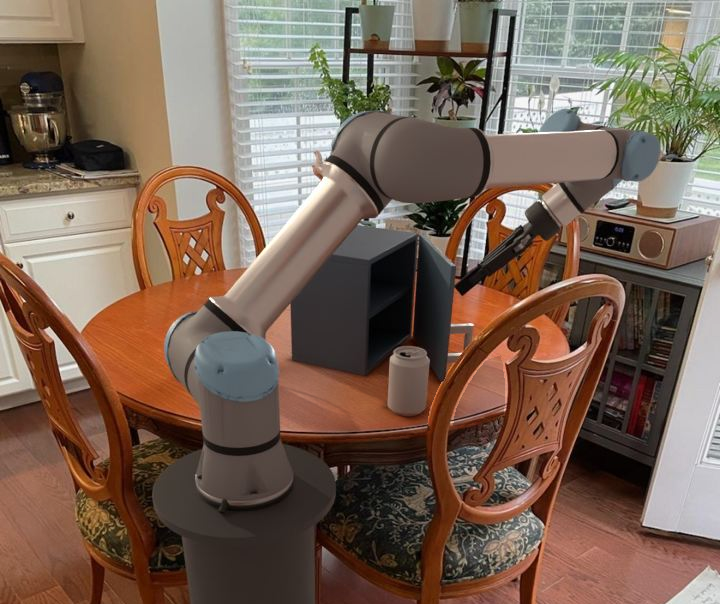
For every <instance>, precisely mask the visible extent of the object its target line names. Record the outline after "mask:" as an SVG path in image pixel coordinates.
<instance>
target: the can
mask: <svg viewBox="0 0 720 604" xmlns="http://www.w3.org/2000/svg"><path fill="white" fill-rule="evenodd" d="M426 355H427V352H426V351H425V350H424V349H422V348H419V347H418V346H413V345H402V346H400V347H398V348H396V349H395V350H394V352H393V353H392V354H391V355H390V356H389V366H388V367H389V368H388V389H387V407H388V408H389V409H390V410H391V412H393V413H394V414H396V415H398V416H403V417H414V416H418V415H419V414H421V413H423V411H425V410H426V408H427V401H428V399H427V397H428V389H429V388H428V385H429V374H430V364H429V363H430V359H429V358H428V357H427V356H426Z"/></svg>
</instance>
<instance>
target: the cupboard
mask: <svg viewBox="0 0 720 604" xmlns="http://www.w3.org/2000/svg"><path fill="white" fill-rule="evenodd" d="M418 247H419V233H418V232H412V231H404V230H397V229H391V228H390V229H388V228H382V227H373V226H368V225H367V226H365V225H360V224H358V225H357V226H356V227H355V228H354V230H353V231H352V232H351V233H350V234H349V235H348V237H347V238H346V239H345V240H344V241H343V242H342V244H341V245H340V246H339V247H338V248H337V249H336V251H335V252H334V253H333V254H332V255H331V256H330V258H329V259H328V260H327V261H326V262H325V263H324V265H323V266H322V267H321V268H320V269H319V270H318V272H317V273H316V274H315V275H314V276H313V278H312V279H311V280H310V281H309V282H308V283H307V285H306V286H305V287H304V288H303V289H302V290H301V292H300V293H299V294H298V295H297V296H296V297H295V299H294V300H293V301H292V302H291V303H290V304H289V306H290V339H291V341H290V342H291V360H292V361H295V362H299V363H304V364H309V365H314V366H317V367H323V368H327V369H331V370H336V371H341V372H345V373H350V374H356V375H361V376H365V377H366V376H367V375H368V374H370V372H371V371H373V370H374V369H376V367H378V366H379V365H380V364H381V363H382V362H383V361H385V360H386V359H388V358H389V357H390V356H392V355H393V354H394V353H393V352H394V350H395V349H396V348H398V347H402V346H404V344H405V343H407V342H408V341H409V340H410V339H412V338H413V323H414V308H415V292H416V277H417V262H418Z"/></svg>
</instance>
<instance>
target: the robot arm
mask: <svg viewBox="0 0 720 604" xmlns="http://www.w3.org/2000/svg"><path fill="white" fill-rule="evenodd" d="M330 146H331V150H330V153H329V156H327V160H326V161H324V162H323V165H322V175H323V178H322V181H321V180H320V181H319V183H318V185H317V186H316V187H315V188H314V189H313V191H311V193H310V194H309V196H307V198H306V199H305V200H304V201H303V202H302V203H301V205H300V206H299V207H298V208H297V209H296V211H295V212H294V213H292V215H291V216H290V218H289V219H288V220H287V221H286V223H285V224H284V225H283V226H282V227H281V228H280V230H279V231H278V232H277V233H276V234H275V236H273V237H272V239H271V240H270V241H269V243H268V244H267V245H266V246H265V247H264V249H263V250H262V251H260V253H259V254H258V256H256V258H255V259H254V260H253V261H252V262H251V264H250V265H249V266H248V267H247V269H246V270H245V271H244V272H243V273H242V274H241V276H240V277H239V278H238V279H237V280H236V281H235V283H234V284H233V285H232V286H231V287H230V288H229V290H228V291H227V292H226V293H225V294H224V295H220V296H210V297H209V298H208V299H207V300H206V301H205V302H204V304H203V305H202V306H201V307H200V308H199V309H198V310H197V311H192V312H187V313H184V314H182V315H181V316H179V317H178V318H177V319H176V320H174V321H173V322H172V324H171V325H170V327H169V329H168V330H167V332H166V335H165V338H164V343H163V352H164V359H165V362H166V363H167V365H168V368H169V371H170V372H171V374H172V375H173V377H174V379H175V380H176V381H177V382H178V383H180V384H181V385H182V386H183V388H184V389H185V390H186V391H187V393H188V394H189V395H190V396H191V397H192V398H193V400H194V401H195V402H196V403H197V404H198V407H199V411H200V419H201V421H200V422H201V431H202V439H203V440H202V441H203V446H202V449H203V450H202V454H201V457H200V461H199V465H198V469H197V473H196V477H195V480H196V489H197V493H198V495H199V497H200V498H201V499H202V500H203V501H204V502H206V503H207V504H209V505H211V506H214V507H216V508H219V511H218V512H219V513H221V514H225V511H226V510H230V511H251V510H257V509H262V508H266V507H269V506H272V505H274V504H276V503H278V502H280V501H282V500H283V499H284V498H286V497H287V496H288V495H289V494H290V492H291V491H292V489H293V485H294V476H293V469H292V467H291V465H290V463H289V461H288V458H287V455H286V452H285V450H284V447H283V445H282V444H283V441H282V440H281V413H280V368H279V363H278V358H277V353H276V350H275V348H274V347H273V346H272V344H271V343H270V342H268V341H267V336H266V335H267V332H268V331H269V329H270V328H271V327H272V326H273V324H274V323H275V322H276V321H277V320H278V319H279V318H280V316H281V315H282V314H283V313H284V311H285V310H286V309H287V308H288V307H289V306H290V303H291V302H292V301H293V300H294V299H295V297H296V296H297V295H298V294H299V293H300V292H301V290H302V289H303V288H304V287H305V286H306V285H307V283H308V282H309V281H310V280H311V279H312V278H313V276H314V275H315V274H316V273H317V272H318V270H319V269H320V268H321V267H322V266H323V265H324V263H325V262H326V261H327V260H328V259H329V258H330V256H331V255H332V254H333V253H334V252H335V251H336V249H337V248H338V247H339V246H340V245H341V244H342V242H343V241H344V240H345V239H346V238H347V237H348V235H349V234H350V233H351V232H352V231H353V230H354V228H355V227H356V226H357V225H360V222H362V220H367V219H370V220H371V219H376V218H378V217H379V215H380V214H381V213H382V212H383V210H385V208H386V207H387V206H388V205H389V203H391V201H392V200H393V201H396V202H400V203H404V204H427V203H429V204H430V203H437V202H443V201H444V202H445V201H452V200H460V199H472V198H475V197H478V196H480V195H481V194H482V193H483V192H484V191H485V190H492V189H493V190H494V189H503V188H515V187H527V186H528V187H529V186H538V185H551V184H554V185H553V186H552V187H550V189H548V190H547V191H546V192H545V193H544V194H542V196H541V199H537V200H536V201H534V202H533V203H532V204H531V205H530V206H529V207H528V208H526V209H525V210H524V215H525V217H526V220H527V221H528V222H526V223H525V224H523V225H522V224H519V225H518V226H516V227H515V228H514V229H513V231H512V232H511V233H510V234H509V235H507V236H506V237H505V238H504V239H503V240H502V241H501V242H499V244H498V245H496V247H494V248H493V249H492V250H490V252H489V253H488V254H486V256H483V257H482V260H481V261H479V262H477V263H476V266H475V267H474V268H473V269H472V270H470V271H469V272H468V273H467V274H466V275H464V276H463V277H462V278H461V279H459V280H458V281H457V282H455V285H454V290H456V292H458V294H460V295H459V296H461V297H463V296H464V295H467V293H468V292H470V291H471V290H472V289H473V288H475V287H476V286H477V285H478V284H479V283H481V281H483V280H484V279H485V278H487V277H488V278H490V277H492V276H493V275H494V274H496V273H497V272H498V271H500V270H501V269H502V268H503V267H504V266H506V265H508V264H509V263H510V262H511V261H513V260H514V259H516V258H517V257H518V256H520V255H522V254H524V253H525V252H526V251H527V249H529V248H530V247H531V246H532V245H533V244H534V242H533V241H534V240H535V239H537V237H538V236H539V237H540V238H541V239H542V240H543V241H545V242H548V241H550V240H551V239H553V238H554V237H555V236H556V235H558V234H559V233H560V232H561V230H562V227H567V226H568V225H569V224H571V222H572V221H573V222H578V221H579V216H580V215H581V214H583V213H585V212H586V211H587V210H588V209H589V208H591V207H592V206H593V205H594V204H596V203H597V202H599V200H601V199H602V198H603V197H605V196H606V195H607V194H609V193H610V192H611V191H613V190H614V189H615V188H616V187H617V186H618V185H619V184H620V183H621V182H623V181H624V182H636V183H637V182H638V183H639V182H643V181H645V180H646V179H647V178H649V177H650V176H651V175H652V174H653V173H654V171H655V169H656V168H657V166H658V164H659V158H660V155H661V144H660V140H659V139H658V137H657V136H656V135H655V134H654V133H651V132H647V131H642V129H627V128H622V127H621V128H619V127H613V126H607V125H601V124H593V123H587V122H586V123H585V122H583V121H582V120H581V117H580V115H577V113H576V112H575V111H574V110H573V109H571V108H565V107H564V108H560V109H558V110H556V111H554V112H552V113H551V114H550V115H548V116H547V118H546V119H545V120H544V122H543V123H542V125H540V128H539V130H538V132H522V133H499V134H498V133H497V134H494V133H493V134H486V133H485V132H484V131H483V130H482V129H480V128H478V127H457V126H451V125H445V124H441V123H438V122H437V123H436V122H433V121H430V120H425V119H421V118H416V117H410V116H404V115H399V114H392V113H390V112H387V111H384V110H367V111H366V110H365V111H360V112H357V113H354V114H353V115H351V116H349V117H347V118H346V119H345V120H344V121H343V122H342V123H341V124H340V125H339V126H338V128H337V130H336V131H335V132H334V135H333V137H332V139H331V143H330Z"/></svg>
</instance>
